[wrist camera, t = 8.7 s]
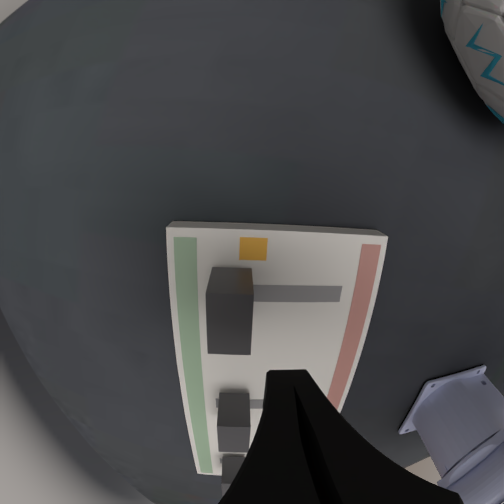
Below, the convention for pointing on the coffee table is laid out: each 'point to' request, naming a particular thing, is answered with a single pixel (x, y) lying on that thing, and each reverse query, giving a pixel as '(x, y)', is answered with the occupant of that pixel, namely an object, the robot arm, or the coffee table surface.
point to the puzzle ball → (479, 46)
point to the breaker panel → (270, 314)
